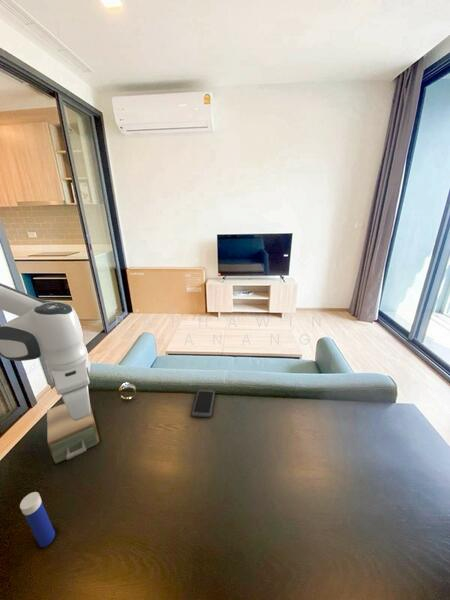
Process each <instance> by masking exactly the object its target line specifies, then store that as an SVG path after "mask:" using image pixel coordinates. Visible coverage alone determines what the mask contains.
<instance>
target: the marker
mask: <svg viewBox="0 0 450 600" xmlns="http://www.w3.org/2000/svg"><path fill="white" fill-rule="evenodd" d="M19 508H20V511H21V512H22V514H23V515H24V517H25V519H26V521H27V523H28V525H29V527H30V529H31V532H32V534H33V536H34V538H35V539H36V542H37V544H38V546H39V547H41V548H45V547H47V546H49V545H50V544H51V543H52V541H53V540H54V539H55V536H56V531H55V529H54V527H53V524H52V522H51V520H50V518H49V516H48V513H47V510H46V508H45V506H44V504H43V501H42V497H41V495H40V493H39V492H37V491H33V492H30V493H28V494H27V495H26V496H24V497H23V498H22V500H21V501H20V504H19Z"/></svg>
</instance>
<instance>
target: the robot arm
mask: <svg viewBox="0 0 450 600" xmlns="http://www.w3.org/2000/svg"><path fill="white" fill-rule="evenodd" d="M0 310H1V311H4V312H7V313H10V314H12V315H15V316H17V317H15V318H13V319H10V320H8V321H7V322H5V323H2V325H0V356H1V357H2V358H4V359H6V360H8V361H15V362H23V361H31V360H36V359H39V358H42V359H43V360H44V363H45V366H46V370H47V372H48V376H49V379H50V380H51V382H52V383H53V384H54V388H55V391H56V393H57V396H61V399H62V401H63V404H65V405H66V408H67V410H68V412H69V414H70V416H71V418H72V419H73V420H74V421H77V420H79V419H82V418H84V417H86V416H89V415H90V412H91V409H92V408H91V409H90V405H91V401H90V400H91V399H90V394H89V393H90V392H89V384H90V383H91V382H90V380H91V379H90V370H91V367H92V365H91V360H90V355H89V352H88V349H87V346H86V345H85V343H84V332H83V328H82V325H81V321H80V318H79V316H78V313H77V312H76V310H75V309H74V307H73V306H72V305H71V304H70V303H67V302H62V301H53V300H48V299H47V300H46V299H41V298H38V297H36V296H33V295H31V294H28V293H25V292H24V291H21V290H19V289H16V288H13V287H11V286H8V285H6V284H3V283H1V282H0Z"/></svg>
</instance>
